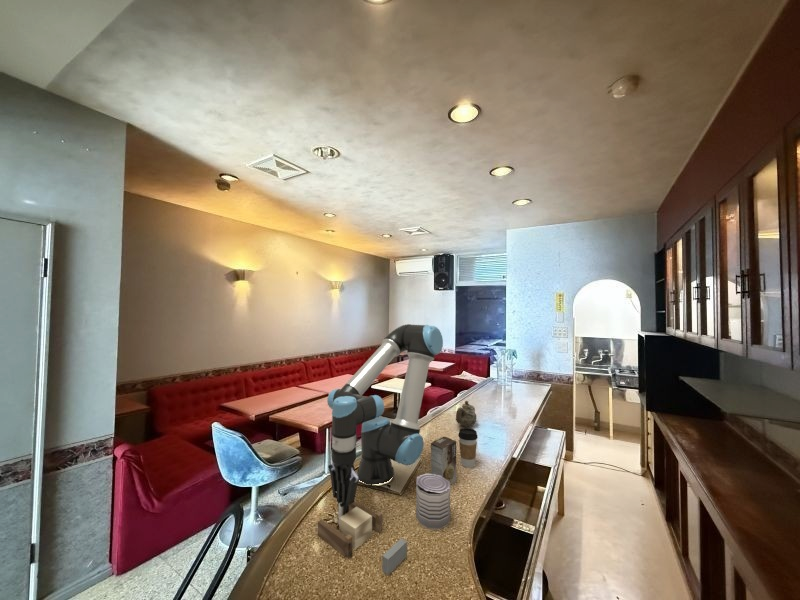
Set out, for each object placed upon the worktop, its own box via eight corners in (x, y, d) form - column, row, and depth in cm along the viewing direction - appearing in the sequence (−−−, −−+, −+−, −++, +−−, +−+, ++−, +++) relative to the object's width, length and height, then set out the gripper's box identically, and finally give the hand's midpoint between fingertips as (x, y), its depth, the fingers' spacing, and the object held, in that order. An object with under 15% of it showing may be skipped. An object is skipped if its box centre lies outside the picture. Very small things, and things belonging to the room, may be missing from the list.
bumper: (401, 552, 88) (401, 538, 88) (406, 556, 86) (406, 541, 86) (382, 571, 81) (382, 555, 81) (388, 575, 80) (388, 559, 80)
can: (415, 506, 108) (415, 471, 108) (448, 507, 108) (448, 472, 108) (416, 529, 97) (416, 490, 97) (452, 530, 96) (452, 491, 97)
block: (356, 525, 98) (356, 506, 98) (372, 535, 94) (372, 515, 94) (339, 538, 93) (339, 518, 93) (354, 549, 88) (355, 528, 89)
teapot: (464, 419, 193) (464, 394, 193) (482, 423, 186) (482, 398, 186) (448, 430, 175) (448, 403, 176) (467, 435, 168) (467, 407, 169)
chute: (352, 511, 105) (352, 496, 105) (382, 530, 96) (382, 513, 96) (317, 535, 94) (317, 517, 94) (348, 558, 85) (348, 539, 85)
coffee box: (444, 475, 128) (444, 435, 129) (457, 481, 124) (457, 440, 124) (430, 483, 122) (430, 442, 122) (443, 490, 117) (443, 447, 118)
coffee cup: (454, 464, 137) (454, 430, 137) (464, 457, 143) (464, 425, 143) (471, 471, 131) (471, 435, 131) (481, 464, 137) (481, 430, 137)
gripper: (321, 445, 99) (320, 520, 98) (348, 458, 91) (347, 540, 90) (340, 438, 105) (339, 508, 104) (367, 449, 96) (366, 526, 96)
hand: (343, 523), depth 97 cm, fingers closed
